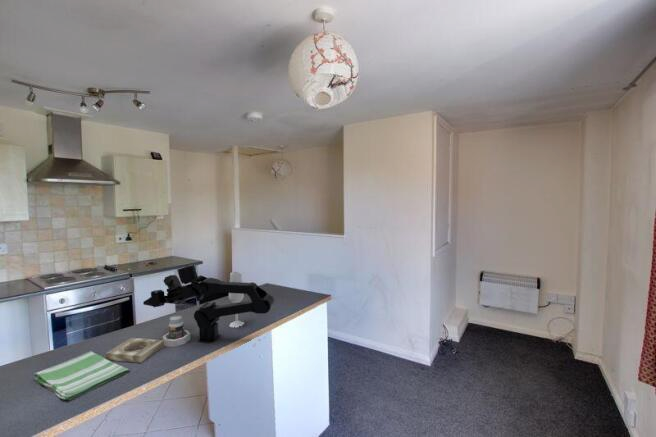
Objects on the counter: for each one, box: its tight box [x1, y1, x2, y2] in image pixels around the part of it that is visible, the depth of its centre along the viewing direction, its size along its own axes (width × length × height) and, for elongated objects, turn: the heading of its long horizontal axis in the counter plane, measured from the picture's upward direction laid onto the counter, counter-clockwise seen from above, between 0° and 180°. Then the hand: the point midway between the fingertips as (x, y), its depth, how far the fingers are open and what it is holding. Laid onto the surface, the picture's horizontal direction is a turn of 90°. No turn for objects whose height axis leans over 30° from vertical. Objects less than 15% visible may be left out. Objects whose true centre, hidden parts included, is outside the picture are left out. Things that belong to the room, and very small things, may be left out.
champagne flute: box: [228, 271, 245, 328], centre depth 141 cm, size 7×7×24 cm
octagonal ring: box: [162, 329, 191, 348], centre depth 125 cm, size 10×10×2 cm
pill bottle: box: [168, 314, 185, 339], centre depth 125 cm, size 6×6×10 cm
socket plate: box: [105, 337, 165, 364], centre depth 116 cm, size 14×12×2 cm
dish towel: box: [33, 350, 131, 401], centre depth 101 cm, size 18×23×3 cm
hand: (151, 302), depth 128 cm, fingers open, 9 cm apart
